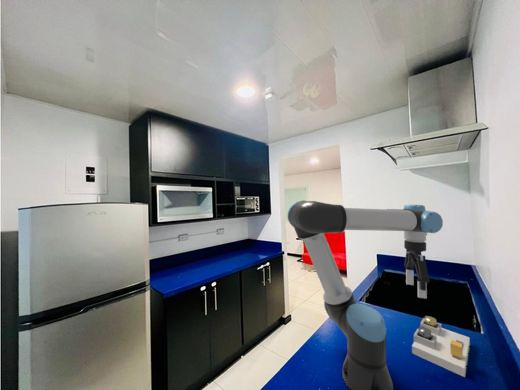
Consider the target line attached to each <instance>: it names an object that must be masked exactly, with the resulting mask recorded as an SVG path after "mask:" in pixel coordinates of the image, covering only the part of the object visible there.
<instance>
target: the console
mask: <svg viewBox="0 0 520 390" xmlns="http://www.w3.org/2000/svg"><path fill="white" fill-rule="evenodd" d="M419 327H425V328H428V329H429V330H431V340H428V339H425V338H422V337H420V336H419V328H416V331H415V332H414V334H413V343H412V345H411V353H412V355H415V356H418V357H420V358H421V359H424V360H426V361H427V362H431V363H433V364H434V365H437V366H438V367H442V368H443V369H446V370H448V371H450V372H452V373H454V374H457V375H459V376H461V377H464V378H466V373H467V367H466V366H468V361H469V354H468V353H470V347H469V346H471V340H470V337H469V336H467V335H464V334H460V333H458V332H455V331H451V330H449V329H446V328H443V327H442V323H439V322H437V327H436V328H434V327H431V326H429V325H426V324H425V317H423V318H422V319H421V321H420V325H419ZM451 340H454V341H456V342H459V343H462V351H463V355H462V359H461V358H459V357H456V356H454V355H451V349H450V343H451Z"/></svg>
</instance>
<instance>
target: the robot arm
mask: <svg viewBox="0 0 520 390" xmlns="http://www.w3.org/2000/svg"><path fill="white" fill-rule="evenodd" d="M287 221H288V222H289V224H290V225H291V226H292V228H293V229H294V232H295V235H296V236H297V238H298V239H299V240H301V241H303V243H304V246H305V247H306V250H307V252H308V255H309V257H310V259H311V263H312V265H313V267H314V270H315V271H316V274H317V277H318V279H319V282H320V284H321V287H322V290H323V291H324V293H323V296H322V297H323V303H324V304H323V306H324V310H325V311H326V314H327V315H328V317H329V319H330V320H332V321H333V322H334V323H335V325H336V326H337V327H338V328H339V329H340V330H341V332H342V333H343V334H344V335H345V337H346V339H347V343H346V344H347V346H346V347H347V354H346V356H345V359H344V361H343V363H342V364H343V365H342V368H341V369H342V380H343V379H344V380H343V382H344V381H345V382H344V384H345V383H346V384H345V385H346V387H347V386H348V387H349V388H350V389H351V390H394V385H393V381H392V378H391V375H390V373H389V370H388V365H387V341H386V340H387V329H386V322H385V319H384V317H383V315H382V314H381V313H380V312H379V311H378V310H377V309H375V308H373V307H371V306H368V305H366V304H364V303H362V304H361V303H357V300H356V299H355V297H354V294H353V291H352V289H351V288H350V287H349V286H346V285H345V282H344V279H343V277H342V275H341V273H340V269H339V267H338V265H337V263H336V261H335V260H336V259H335V258H334V255H333V253H332V250H331V247H330V245H329V243H328V241H327V238H326V236H325V234H341V233H344V232H345V231H383V232H384V231H387V232H389V231H390V232H395V231H396V232H398V231H399V232H403V239H404V241H403V242H404V244H403V245H404V249H405V259H404V264H403V266H404V267H405V277H406V278H405V283H406V285H410V286H415V285H414V283H415V281H414V280H415V278H414V277H415V276H414V275H415V273H414V272H415V271H414V270H416V274H417V279H416V281H417V298H419V299H427V298H428V296H427V295H428V289H427V285H428V283H430V278H429V277H430V276H429V272H428V268H427V261H426V256H425V255H422V252H426V251H427V242H426V241H427V236H428V233H429V234H436V233H438V232H439V231H441V230H442V228H443V222H444V221H443V218H442V216H441V214H440V213H438V212H436V211H430V210H426V206H425V205H423V204H405V205H403V209H397V208H396V209H395V208H391V209H390V208H385V209H382V208H380V209H379V208H359V207H358V208H354V207H344V205H342V204H331V203H326V202H321V201H316V200H299V201H296V202H294V203H293V204H292V205H290V207H289V209H288V210H287ZM348 387H347V388H348ZM349 388H348V389H349ZM350 389H349V390H350Z"/></svg>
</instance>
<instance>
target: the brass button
mask: <svg viewBox="0 0 520 390" xmlns="http://www.w3.org/2000/svg"><path fill="white" fill-rule="evenodd" d="M424 318H425V324H426V325H429V326H431V327H434V328H436V327H437V323H438V322H437V319H436V318H435V317H432V316H429V315H425V316H424Z"/></svg>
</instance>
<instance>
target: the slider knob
mask: <svg viewBox="0 0 520 390" xmlns="http://www.w3.org/2000/svg"><path fill="white" fill-rule="evenodd" d="M450 349H451V355H454V356H456V357H459V358H461V359H462V355H463V351H462V343H459V342H456V341H454V340H451V343H450Z"/></svg>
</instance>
